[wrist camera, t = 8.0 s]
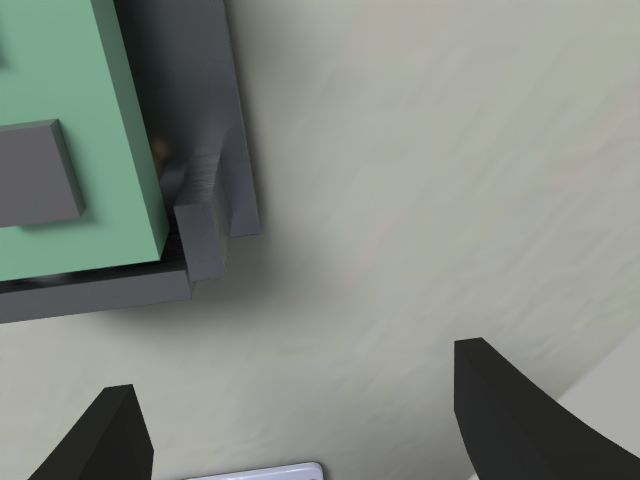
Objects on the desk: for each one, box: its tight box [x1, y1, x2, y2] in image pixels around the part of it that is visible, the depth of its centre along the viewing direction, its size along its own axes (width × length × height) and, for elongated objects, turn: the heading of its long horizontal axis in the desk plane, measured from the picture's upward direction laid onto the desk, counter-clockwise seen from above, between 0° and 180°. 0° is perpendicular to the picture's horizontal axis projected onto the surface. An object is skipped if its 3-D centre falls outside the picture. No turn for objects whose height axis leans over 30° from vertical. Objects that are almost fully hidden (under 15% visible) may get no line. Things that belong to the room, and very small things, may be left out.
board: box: [0, 0, 170, 281], centre depth 15 cm, size 5×9×3 cm, turn 6°
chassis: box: [0, 0, 260, 324], centre depth 17 cm, size 10×12×5 cm
